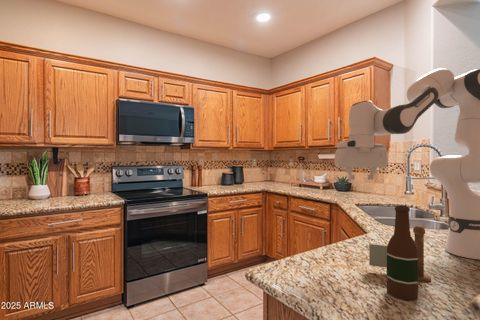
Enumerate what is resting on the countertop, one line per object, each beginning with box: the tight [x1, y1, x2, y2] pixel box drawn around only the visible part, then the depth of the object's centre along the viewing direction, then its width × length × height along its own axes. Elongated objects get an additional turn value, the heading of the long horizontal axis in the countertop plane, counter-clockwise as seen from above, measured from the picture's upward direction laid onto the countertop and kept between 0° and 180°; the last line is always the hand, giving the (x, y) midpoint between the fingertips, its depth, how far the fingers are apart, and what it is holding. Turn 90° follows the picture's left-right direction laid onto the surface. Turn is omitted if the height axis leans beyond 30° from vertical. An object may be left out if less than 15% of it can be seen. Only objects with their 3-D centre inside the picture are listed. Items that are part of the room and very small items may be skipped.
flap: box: [368, 242, 388, 269], centre depth 87 cm, size 12×1×7 cm, turn 68°
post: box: [412, 225, 432, 283], centre depth 84 cm, size 6×6×16 cm
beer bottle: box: [386, 204, 419, 302], centre depth 74 cm, size 8×8×24 cm
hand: (361, 179), depth 104 cm, fingers open, 6 cm apart
